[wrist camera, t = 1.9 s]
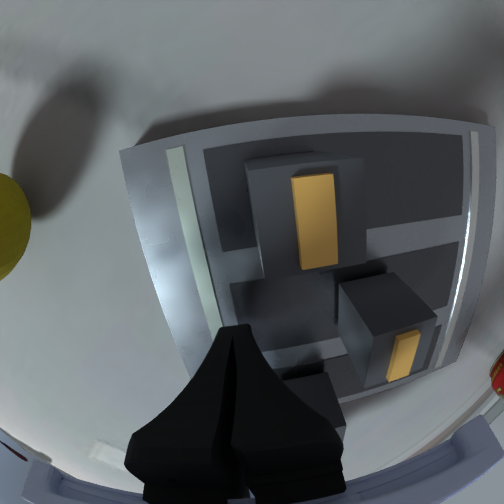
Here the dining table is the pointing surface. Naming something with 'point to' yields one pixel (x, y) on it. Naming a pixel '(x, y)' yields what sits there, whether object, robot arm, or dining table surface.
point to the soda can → (498, 376)
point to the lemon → (12, 224)
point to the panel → (324, 282)
